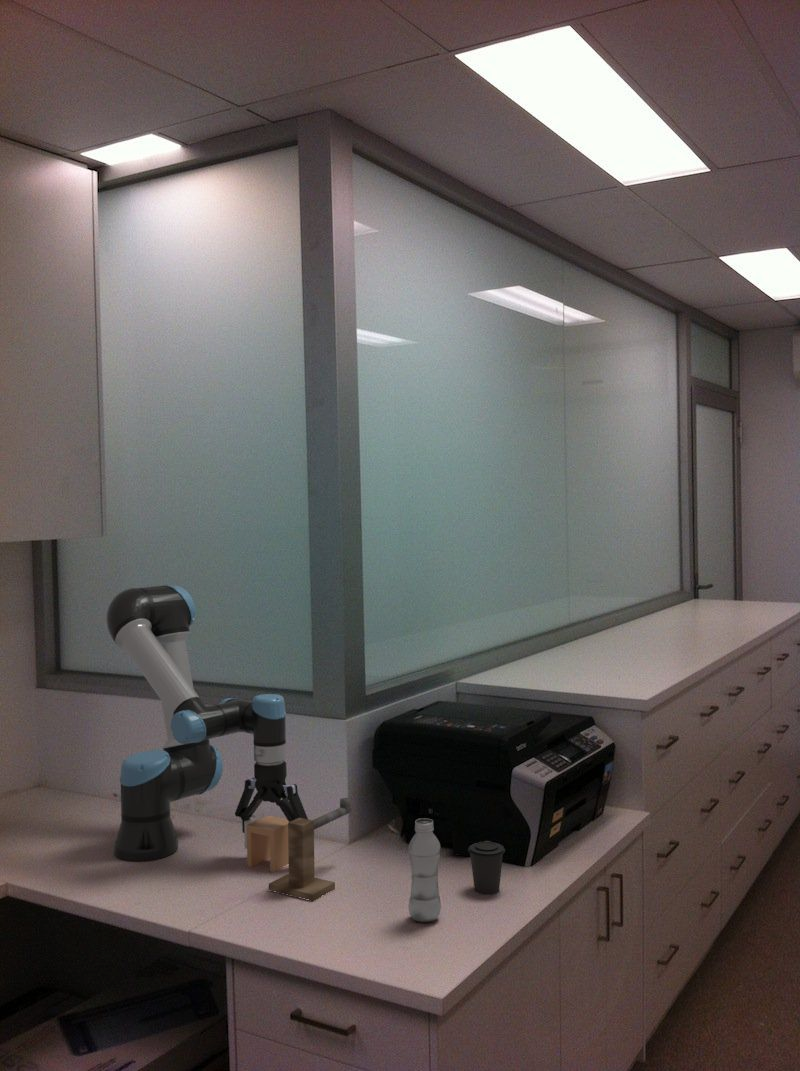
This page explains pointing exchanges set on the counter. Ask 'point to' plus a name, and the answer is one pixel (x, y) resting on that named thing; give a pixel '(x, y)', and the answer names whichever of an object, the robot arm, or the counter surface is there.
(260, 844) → the tan square cardboard-colored block
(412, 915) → the plastic bottle
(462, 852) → the battery
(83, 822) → the counter surface
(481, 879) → the coffee cup
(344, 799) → the hook stand
